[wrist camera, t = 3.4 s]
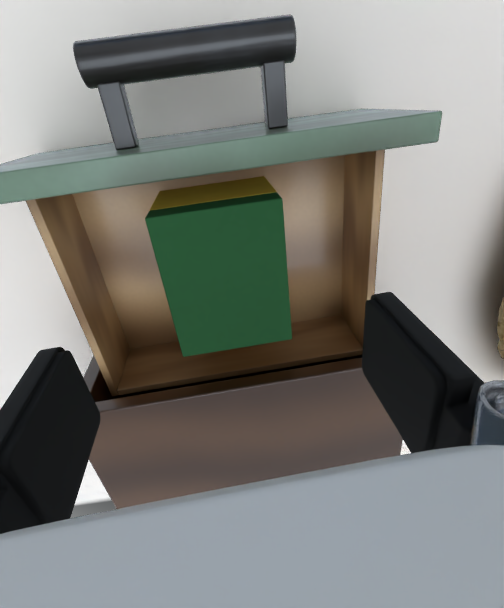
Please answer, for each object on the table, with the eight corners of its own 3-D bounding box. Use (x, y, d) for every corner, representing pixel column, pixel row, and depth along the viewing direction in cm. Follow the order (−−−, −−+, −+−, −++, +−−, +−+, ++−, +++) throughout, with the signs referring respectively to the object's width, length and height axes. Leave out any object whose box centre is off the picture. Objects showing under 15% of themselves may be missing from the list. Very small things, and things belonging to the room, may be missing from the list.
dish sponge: (264, 175, 18) (282, 198, 14) (275, 292, 22) (292, 339, 17) (159, 191, 18) (144, 218, 14) (187, 306, 21) (182, 357, 17)
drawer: (5, 70, 16) (-124, 47, 10) (365, 24, 16) (462, -25, 10) (114, 345, 24) (82, 430, 18) (354, 306, 24) (405, 375, 18)
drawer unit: (106, 325, 23) (64, 418, 16) (356, 285, 24) (416, 358, 17) (152, 442, 29) (136, 545, 23) (350, 408, 30) (393, 498, 23)
